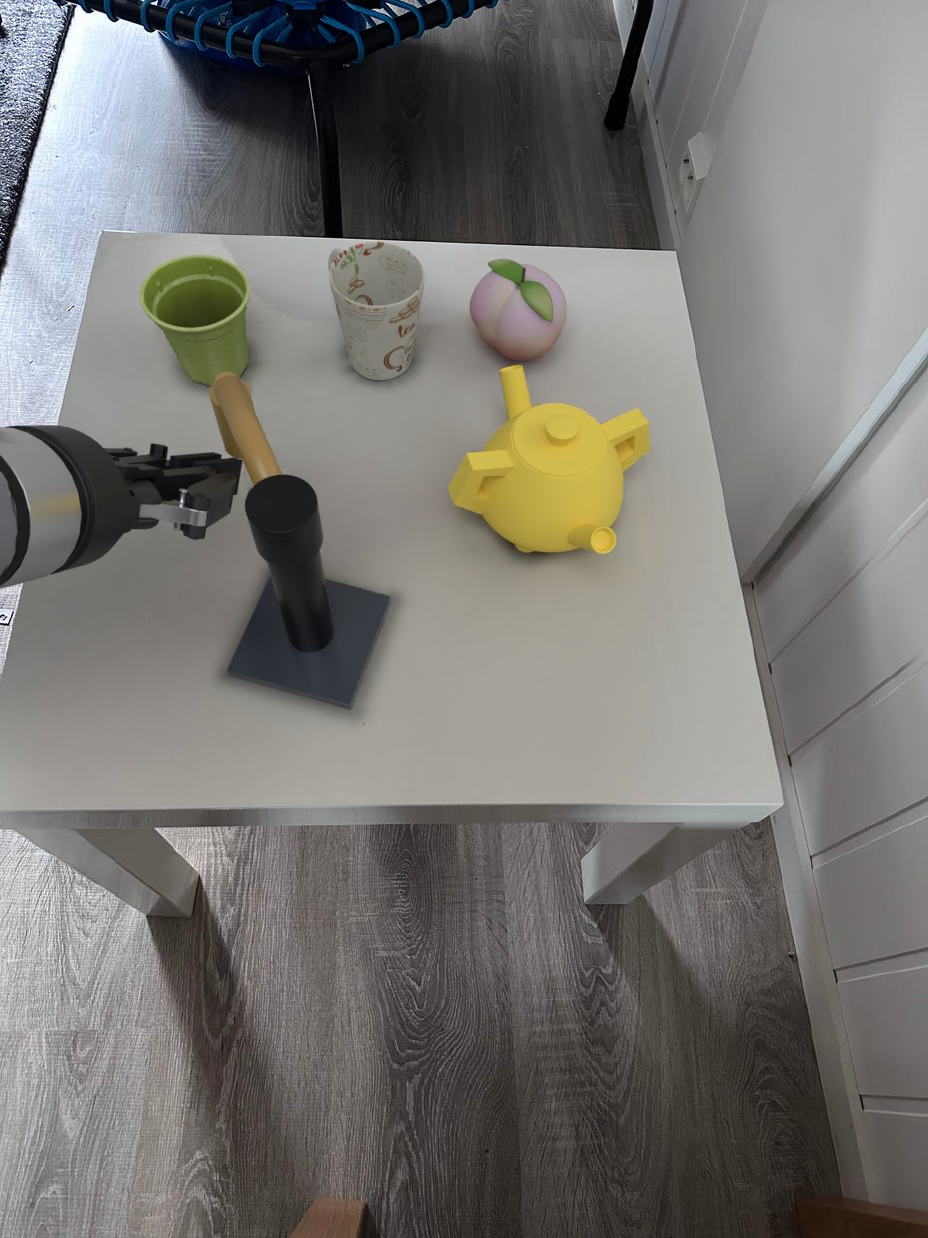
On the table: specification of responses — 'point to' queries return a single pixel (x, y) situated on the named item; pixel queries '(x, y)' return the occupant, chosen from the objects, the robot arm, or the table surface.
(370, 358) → the mug
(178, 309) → the plant pot
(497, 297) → the decorative fruit
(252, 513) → the spout
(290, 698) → the table surface
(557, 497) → the teapot
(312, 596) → the square base plate
